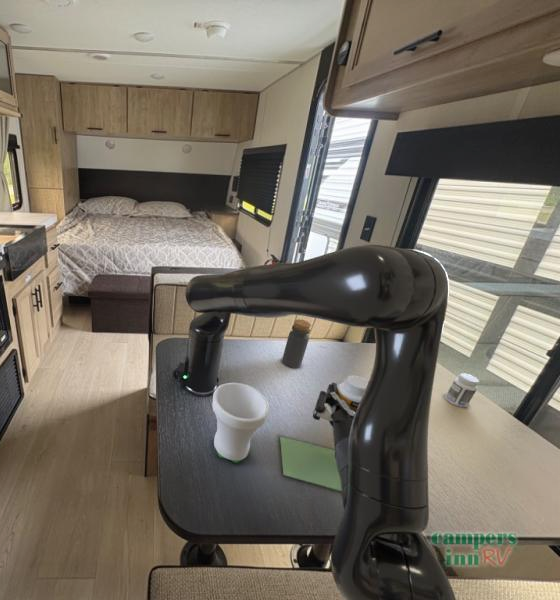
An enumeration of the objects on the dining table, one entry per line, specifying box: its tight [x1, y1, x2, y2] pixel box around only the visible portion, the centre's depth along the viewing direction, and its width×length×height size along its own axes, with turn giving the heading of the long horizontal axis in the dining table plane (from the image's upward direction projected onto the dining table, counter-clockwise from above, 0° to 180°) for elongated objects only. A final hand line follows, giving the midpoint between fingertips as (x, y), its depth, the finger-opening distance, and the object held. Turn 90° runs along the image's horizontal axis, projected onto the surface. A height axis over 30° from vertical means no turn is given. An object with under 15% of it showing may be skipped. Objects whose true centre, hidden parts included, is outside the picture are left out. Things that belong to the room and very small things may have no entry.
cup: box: [212, 382, 270, 464], centre depth 64 cm, size 11×11×14 cm
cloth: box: [279, 436, 342, 493], centre depth 64 cm, size 18×10×1 cm, turn 74°
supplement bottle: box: [328, 374, 369, 414], centre depth 59 cm, size 6×6×10 cm
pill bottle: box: [445, 372, 480, 408], centre depth 84 cm, size 5×5×8 cm
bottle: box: [281, 319, 312, 369], centre depth 96 cm, size 6×6×15 cm
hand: (350, 391), depth 61 cm, fingers closed on supplement bottle, 5 cm apart
